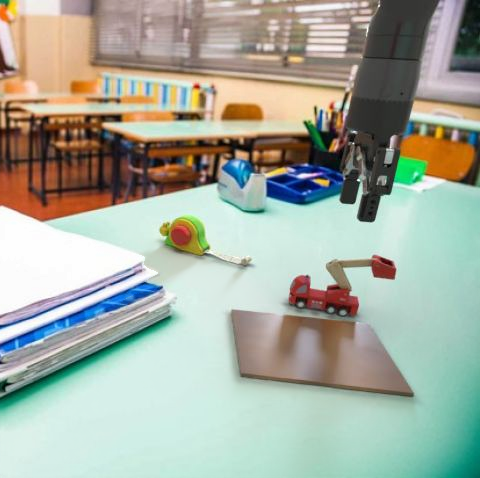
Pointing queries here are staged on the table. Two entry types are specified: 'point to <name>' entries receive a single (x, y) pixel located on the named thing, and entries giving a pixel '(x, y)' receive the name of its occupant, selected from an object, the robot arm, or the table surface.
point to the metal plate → (315, 352)
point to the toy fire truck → (338, 286)
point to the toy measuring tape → (193, 238)
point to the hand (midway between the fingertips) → (355, 211)
